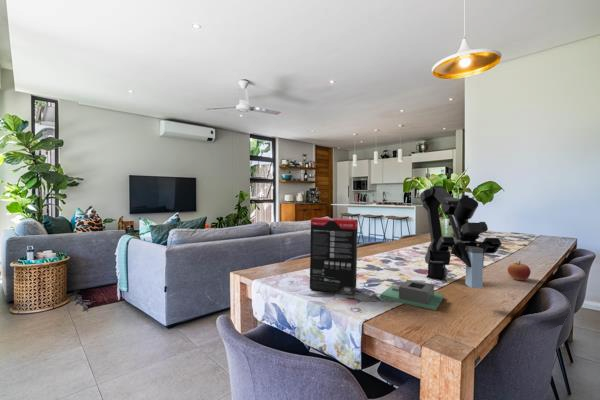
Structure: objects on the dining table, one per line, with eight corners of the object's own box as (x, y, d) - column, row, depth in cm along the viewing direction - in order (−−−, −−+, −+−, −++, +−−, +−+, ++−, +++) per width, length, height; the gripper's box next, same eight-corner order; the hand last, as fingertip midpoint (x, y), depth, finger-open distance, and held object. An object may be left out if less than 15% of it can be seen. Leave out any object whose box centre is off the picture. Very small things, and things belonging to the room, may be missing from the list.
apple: (520, 276, 128) (520, 258, 128) (535, 282, 120) (535, 263, 120) (502, 276, 128) (503, 258, 128) (516, 282, 120) (517, 263, 120)
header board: (380, 297, 101) (380, 283, 101) (392, 288, 112) (392, 274, 111) (435, 310, 91) (436, 293, 90) (443, 298, 101) (443, 283, 101)
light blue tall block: (471, 288, 91) (472, 248, 91) (465, 283, 95) (466, 246, 95) (482, 288, 91) (483, 249, 91) (475, 284, 95) (476, 246, 95)
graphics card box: (357, 290, 109) (358, 218, 108) (354, 296, 102) (355, 219, 102) (314, 285, 115) (314, 216, 114) (308, 290, 108) (309, 218, 107)
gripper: (440, 212, 98) (453, 251, 87) (499, 213, 96) (520, 253, 85) (431, 232, 106) (442, 270, 95) (485, 233, 104) (503, 272, 93)
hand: (476, 266), depth 92 cm, fingers closed on light blue tall block, 3 cm apart
